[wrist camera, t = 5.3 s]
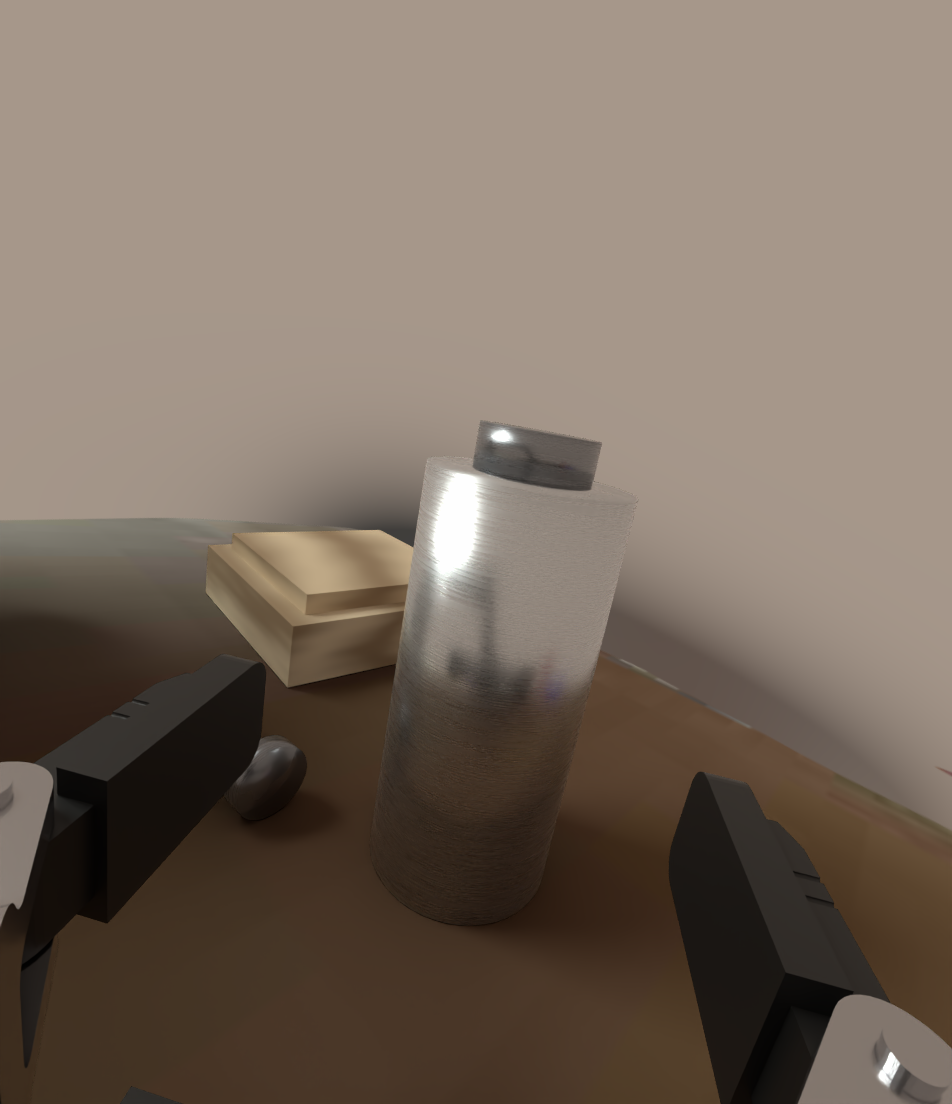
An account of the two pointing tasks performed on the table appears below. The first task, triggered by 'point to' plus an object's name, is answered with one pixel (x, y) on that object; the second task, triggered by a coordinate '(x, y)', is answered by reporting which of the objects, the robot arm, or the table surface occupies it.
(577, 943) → the table surface
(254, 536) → the stand
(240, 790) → the bolt
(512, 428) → the silver metal bottle
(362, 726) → the table surface
